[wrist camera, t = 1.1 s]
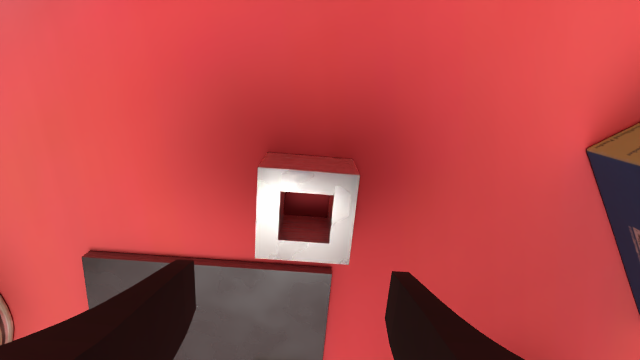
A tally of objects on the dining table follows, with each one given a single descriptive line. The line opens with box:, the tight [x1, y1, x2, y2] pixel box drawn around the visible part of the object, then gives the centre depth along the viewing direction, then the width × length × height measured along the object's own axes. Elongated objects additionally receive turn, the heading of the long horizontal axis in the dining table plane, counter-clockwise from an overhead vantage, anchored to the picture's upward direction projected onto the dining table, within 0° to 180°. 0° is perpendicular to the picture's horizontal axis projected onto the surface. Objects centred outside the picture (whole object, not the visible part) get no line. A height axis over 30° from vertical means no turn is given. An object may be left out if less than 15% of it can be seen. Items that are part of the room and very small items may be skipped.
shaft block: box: [82, 251, 332, 360], centre depth 22 cm, size 16×12×4 cm
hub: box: [255, 152, 360, 265], centre depth 19 cm, size 5×5×4 cm
